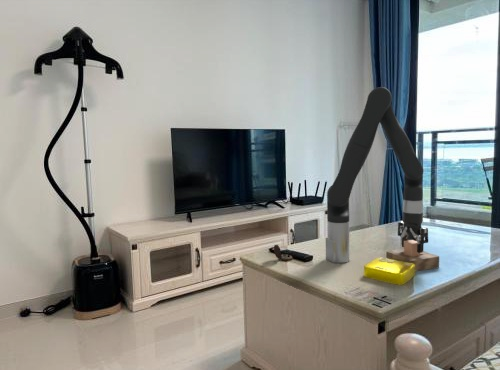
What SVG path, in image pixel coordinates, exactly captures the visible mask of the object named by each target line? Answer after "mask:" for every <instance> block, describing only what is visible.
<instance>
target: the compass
mask: <svg viewBox="0 0 500 370" xmlns="http://www.w3.org/2000/svg"><path fill="white" fill-rule="evenodd" d="M273 251H274V254H275V257H276V258H277V259H278V260H279V261H281V262H290V261H292V260H293V259H294V257H293V256H292V255H290V254H285V253H284V254H283V253H282V250H281V248H280V245H279V244H274V245H273ZM288 256H289V257H288Z"/></svg>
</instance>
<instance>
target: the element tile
mask: <svg viewBox="0 0 500 370" xmlns="http://www.w3.org/2000/svg"><path fill="white" fill-rule="evenodd" d="M415 275H416V271H415V265H414V264H413V263H408V262H403V261H397V260H392V259H387V258H386V257H376V258H374V259H372V260H371V261H370V262H367V263H366V264H365V265H364V266H363V277H365V278H367V279H373V280H376V281H380V282H384V283H388V284H391V285H392V284H393V285H397V286H398V285H399V286H402V285H405V284H406V283H408V282H409V281H410V280H411V279H413V278H414V277H415Z"/></svg>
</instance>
